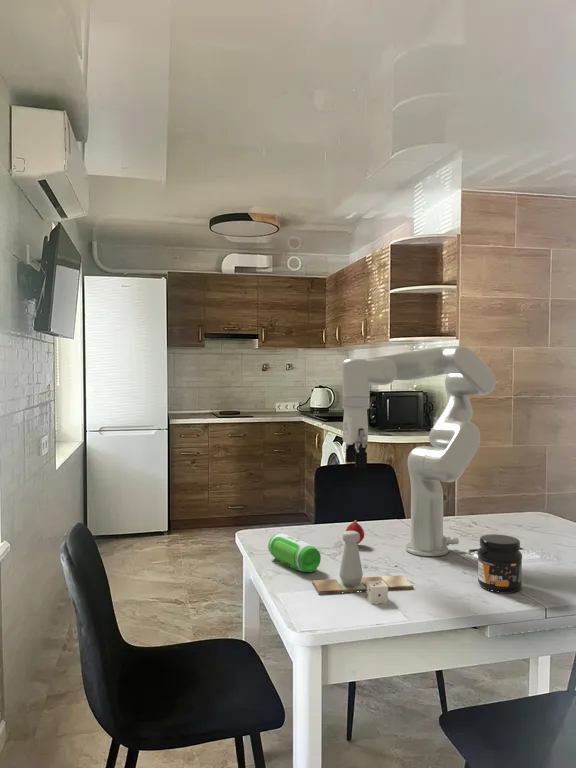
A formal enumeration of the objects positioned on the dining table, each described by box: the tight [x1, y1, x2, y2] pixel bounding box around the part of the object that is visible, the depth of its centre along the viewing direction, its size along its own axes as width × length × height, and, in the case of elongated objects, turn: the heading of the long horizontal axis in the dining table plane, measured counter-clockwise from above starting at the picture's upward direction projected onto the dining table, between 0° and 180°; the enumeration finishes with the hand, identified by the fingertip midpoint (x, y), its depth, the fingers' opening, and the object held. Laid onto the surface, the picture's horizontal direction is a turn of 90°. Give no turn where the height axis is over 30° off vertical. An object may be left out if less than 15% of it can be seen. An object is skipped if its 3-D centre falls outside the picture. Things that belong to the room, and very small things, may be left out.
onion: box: [345, 520, 365, 545], centre depth 184 cm, size 6×6×8 cm
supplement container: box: [477, 533, 523, 593], centre depth 148 cm, size 10×10×12 cm
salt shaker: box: [339, 530, 364, 586], centre depth 148 cm, size 6×6×13 cm
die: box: [366, 581, 389, 605], centre depth 139 cm, size 4×4×4 cm
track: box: [311, 575, 414, 596], centre depth 149 cm, size 24×8×1 cm, turn 99°
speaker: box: [267, 533, 322, 573], centre depth 165 cm, size 18×7×8 cm, turn 32°
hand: (356, 464), depth 165 cm, fingers open, 9 cm apart
